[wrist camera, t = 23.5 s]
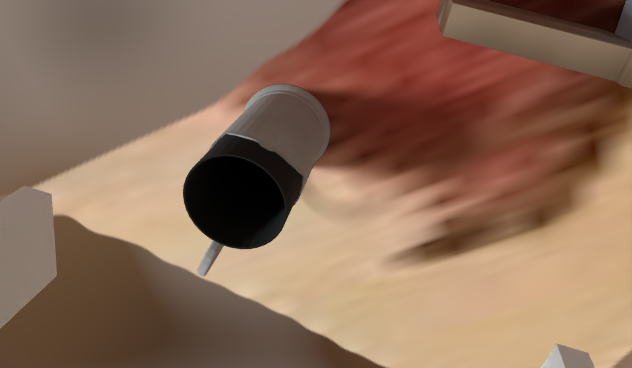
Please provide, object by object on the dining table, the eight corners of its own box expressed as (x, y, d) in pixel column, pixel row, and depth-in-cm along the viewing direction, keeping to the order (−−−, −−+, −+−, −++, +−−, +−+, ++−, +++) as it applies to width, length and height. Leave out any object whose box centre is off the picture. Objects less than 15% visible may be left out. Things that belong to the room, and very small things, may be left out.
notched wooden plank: (444, -12, 38) (454, 5, 28) (631, 37, 37) (709, 70, 27) (435, 14, 39) (443, 38, 29) (618, 62, 38) (688, 103, 28)
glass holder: (346, 113, 44) (318, 187, 31) (282, 222, 51) (237, 320, 38) (264, 66, 43) (199, 121, 30) (210, 183, 50) (138, 269, 37)
